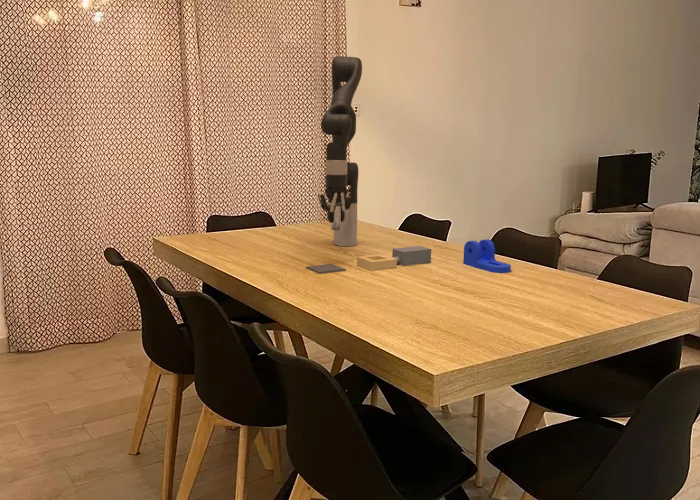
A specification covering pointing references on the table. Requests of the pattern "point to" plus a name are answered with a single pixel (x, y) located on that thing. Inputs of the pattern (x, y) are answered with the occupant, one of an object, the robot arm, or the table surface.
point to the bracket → (483, 257)
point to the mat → (325, 268)
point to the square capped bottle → (336, 217)
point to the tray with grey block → (396, 258)
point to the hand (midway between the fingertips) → (335, 221)
